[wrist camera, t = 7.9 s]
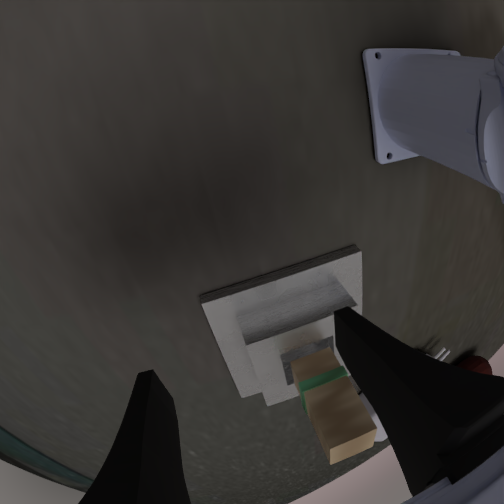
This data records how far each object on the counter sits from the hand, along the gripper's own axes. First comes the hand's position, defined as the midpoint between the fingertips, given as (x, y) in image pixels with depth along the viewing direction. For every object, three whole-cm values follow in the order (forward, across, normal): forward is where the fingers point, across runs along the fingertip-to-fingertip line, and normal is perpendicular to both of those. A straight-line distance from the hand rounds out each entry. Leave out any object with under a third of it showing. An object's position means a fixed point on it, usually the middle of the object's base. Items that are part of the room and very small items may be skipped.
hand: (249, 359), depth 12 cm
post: (+6, -4, +10) cm, 12 cm away
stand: (+10, -4, +10) cm, 15 cm away
